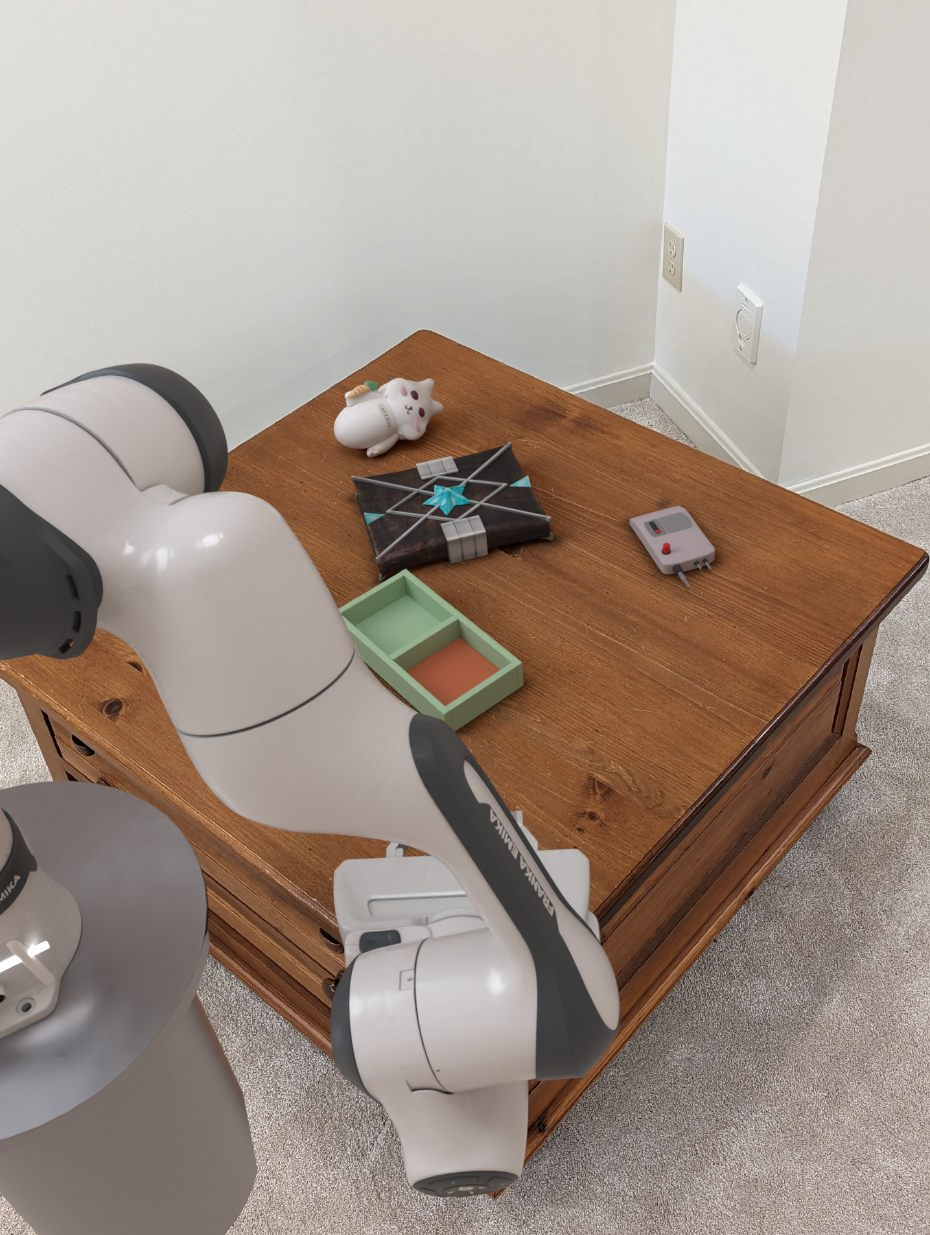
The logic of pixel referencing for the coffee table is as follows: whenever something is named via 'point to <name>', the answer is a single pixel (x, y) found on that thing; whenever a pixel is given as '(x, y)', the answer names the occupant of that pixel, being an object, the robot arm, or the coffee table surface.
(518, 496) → the book
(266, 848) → the coffee table surface
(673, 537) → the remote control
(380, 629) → the divided tray
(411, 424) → the cat figurine
